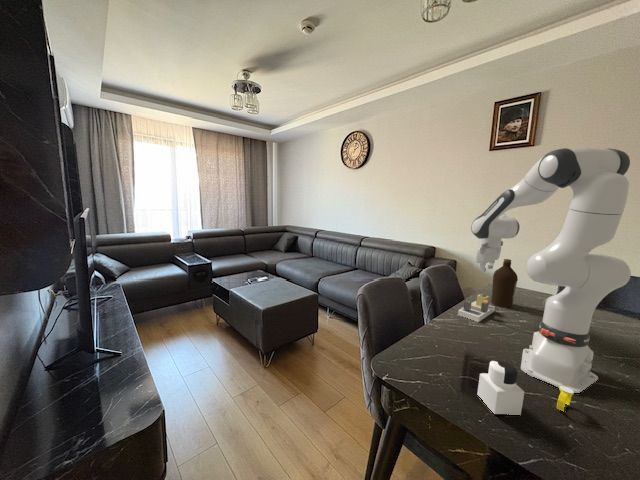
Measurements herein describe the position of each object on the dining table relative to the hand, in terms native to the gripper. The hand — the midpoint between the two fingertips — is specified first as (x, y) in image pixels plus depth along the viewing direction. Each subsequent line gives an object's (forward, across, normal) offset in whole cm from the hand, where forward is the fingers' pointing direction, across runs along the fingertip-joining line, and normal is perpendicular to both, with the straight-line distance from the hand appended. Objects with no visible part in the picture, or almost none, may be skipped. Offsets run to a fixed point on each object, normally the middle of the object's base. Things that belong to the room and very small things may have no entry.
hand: (486, 270), depth 126 cm
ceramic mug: (+22, +31, -23) cm, 45 cm away
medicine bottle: (+22, -65, -27) cm, 74 cm away
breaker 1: (+19, -12, +2) cm, 23 cm away
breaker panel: (+21, -6, 0) cm, 22 cm away
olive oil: (+21, +18, -3) cm, 28 cm away
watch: (+22, -52, -38) cm, 68 cm away
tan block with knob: (+19, 0, 0) cm, 19 cm away
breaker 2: (+19, -7, -3) cm, 20 cm away
